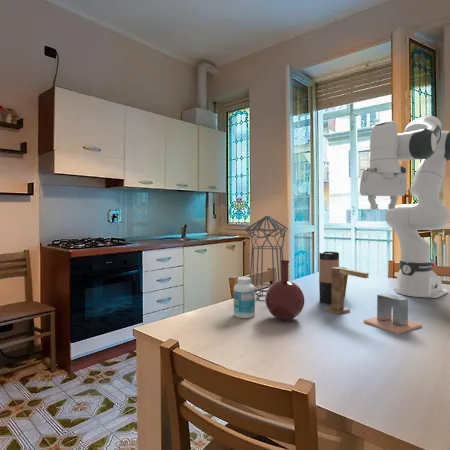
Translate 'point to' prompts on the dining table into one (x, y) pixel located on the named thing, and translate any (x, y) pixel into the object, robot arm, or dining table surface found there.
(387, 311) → the brushed grey metal block
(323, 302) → the travel mug
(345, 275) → the disposable coffee cup
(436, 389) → the dining table surface
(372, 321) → the tile
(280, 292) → the round-bottom flask
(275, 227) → the geometric lantern
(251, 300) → the pill bottle
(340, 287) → the stand
